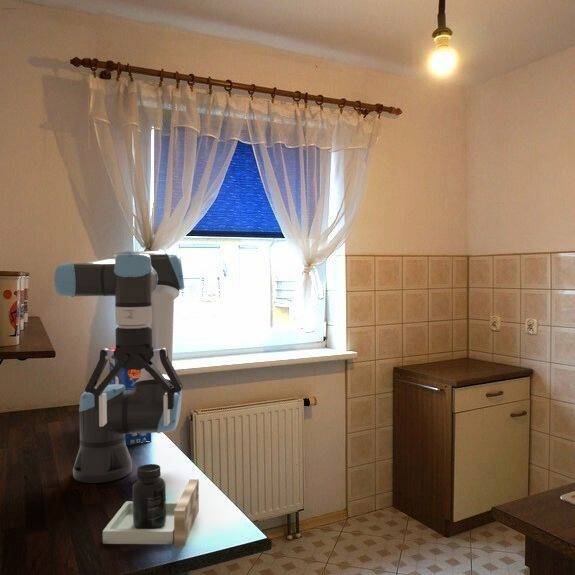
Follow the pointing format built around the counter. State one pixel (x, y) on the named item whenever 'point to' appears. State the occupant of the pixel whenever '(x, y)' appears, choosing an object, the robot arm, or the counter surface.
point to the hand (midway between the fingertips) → (135, 424)
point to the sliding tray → (126, 533)
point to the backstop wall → (186, 512)
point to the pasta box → (128, 381)
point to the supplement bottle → (149, 498)
